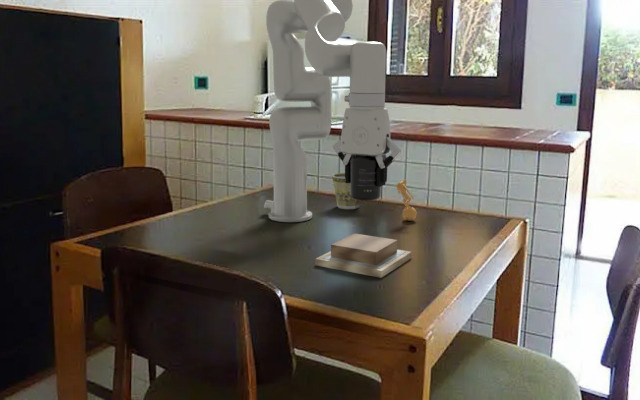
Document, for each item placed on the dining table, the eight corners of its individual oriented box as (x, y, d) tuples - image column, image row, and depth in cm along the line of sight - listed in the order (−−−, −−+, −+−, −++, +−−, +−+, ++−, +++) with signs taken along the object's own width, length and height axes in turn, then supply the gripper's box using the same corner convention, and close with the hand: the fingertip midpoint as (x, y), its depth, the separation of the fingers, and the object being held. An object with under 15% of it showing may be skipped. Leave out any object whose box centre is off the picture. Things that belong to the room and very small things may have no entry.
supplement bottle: (347, 194, 141) (348, 141, 139) (377, 194, 142) (379, 141, 139) (351, 201, 135) (352, 145, 132) (383, 200, 135) (384, 145, 133)
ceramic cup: (325, 207, 194) (325, 175, 192) (343, 202, 202) (343, 171, 200) (361, 213, 187) (362, 180, 185) (378, 207, 195) (379, 175, 193)
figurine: (422, 223, 175) (424, 181, 173) (403, 225, 173) (405, 182, 171) (408, 216, 183) (409, 176, 180) (389, 218, 181) (391, 177, 178)
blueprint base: (315, 265, 138) (315, 245, 137) (349, 247, 152) (349, 229, 151) (381, 277, 130) (381, 257, 129) (411, 258, 144) (412, 239, 143)
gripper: (323, 101, 135) (322, 182, 139) (397, 103, 126) (394, 190, 130) (339, 99, 141) (339, 177, 145) (411, 102, 133) (409, 185, 136)
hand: (365, 183), depth 138 cm, fingers closed on supplement bottle, 6 cm apart
